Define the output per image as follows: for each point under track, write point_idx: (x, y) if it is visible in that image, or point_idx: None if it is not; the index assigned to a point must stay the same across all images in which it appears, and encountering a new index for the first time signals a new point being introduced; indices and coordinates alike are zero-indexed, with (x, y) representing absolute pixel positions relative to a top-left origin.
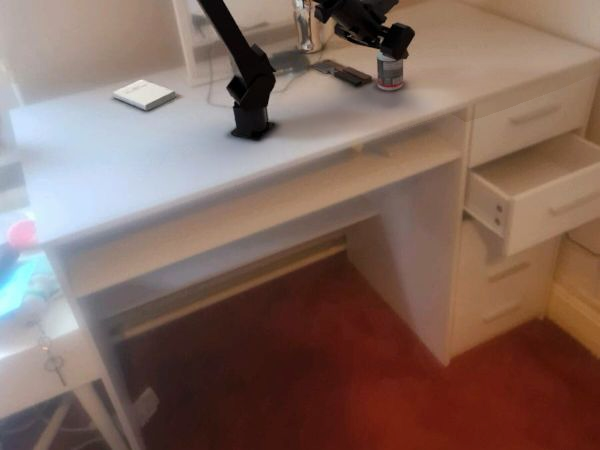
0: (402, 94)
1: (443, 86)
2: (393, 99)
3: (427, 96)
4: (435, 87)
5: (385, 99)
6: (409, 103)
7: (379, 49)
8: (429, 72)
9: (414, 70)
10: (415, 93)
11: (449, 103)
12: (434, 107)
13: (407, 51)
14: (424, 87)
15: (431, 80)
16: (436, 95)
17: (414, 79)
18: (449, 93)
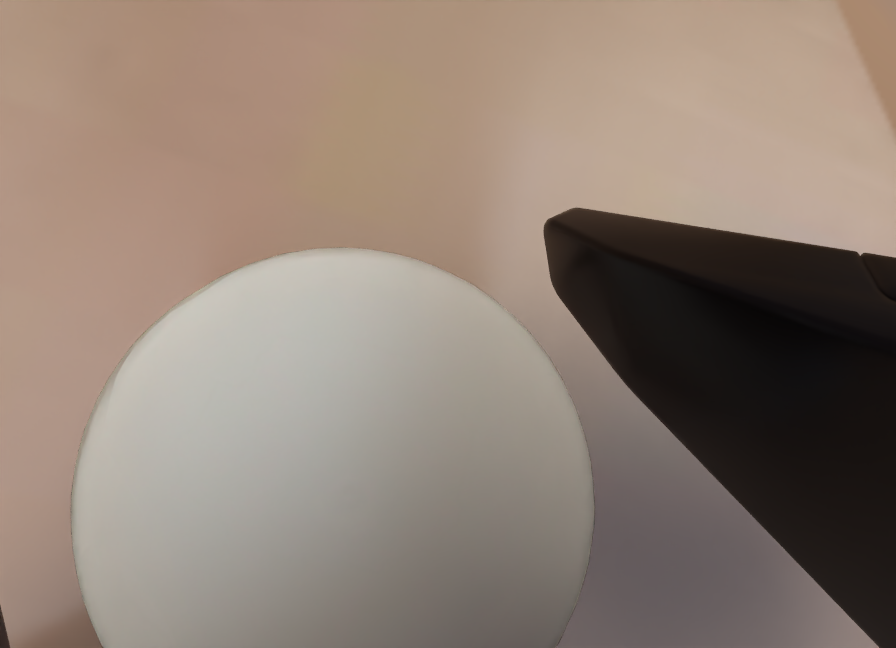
0: None
1: (518, 11)
2: (644, 542)
3: (672, 215)
4: (515, 82)
5: (621, 623)
6: None
7: (6, 642)
8: (153, 2)
9: (27, 120)
10: None
11: (843, 96)
12: (884, 234)
13: (676, 229)
14: (481, 173)
15: (351, 57)
16: (675, 135)
17: (261, 198)
18: (668, 22)
